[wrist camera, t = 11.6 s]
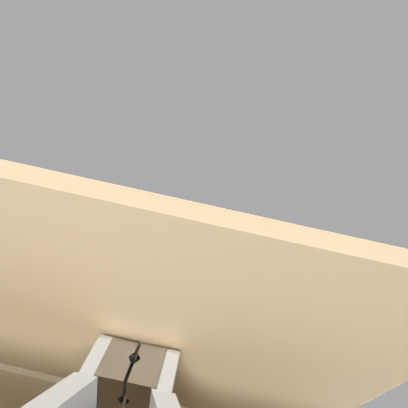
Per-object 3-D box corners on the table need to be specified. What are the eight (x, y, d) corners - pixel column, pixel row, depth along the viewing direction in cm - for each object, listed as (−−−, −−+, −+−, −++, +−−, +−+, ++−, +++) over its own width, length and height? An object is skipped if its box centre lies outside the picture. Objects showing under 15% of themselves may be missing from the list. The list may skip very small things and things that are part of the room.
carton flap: (555, 301, 6) (536, 277, 7) (-367, 96, 7) (-327, 86, 7) (306, 435, 15) (304, 422, 16) (-72, 346, 16) (-62, 335, 16)
